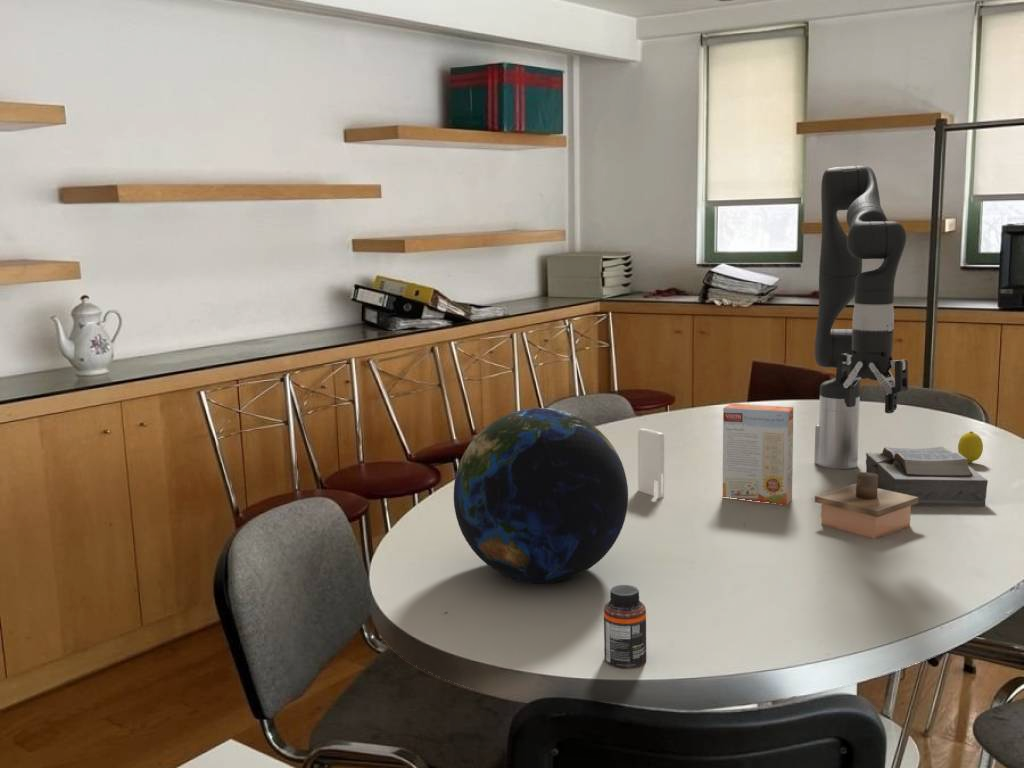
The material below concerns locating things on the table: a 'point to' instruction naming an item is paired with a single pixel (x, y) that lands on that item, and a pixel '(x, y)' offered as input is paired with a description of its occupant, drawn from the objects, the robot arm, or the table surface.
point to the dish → (865, 521)
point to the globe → (540, 495)
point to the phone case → (650, 461)
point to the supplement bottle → (625, 628)
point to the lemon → (970, 446)
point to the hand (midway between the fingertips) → (869, 409)
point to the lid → (866, 497)
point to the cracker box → (758, 452)
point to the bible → (928, 476)
